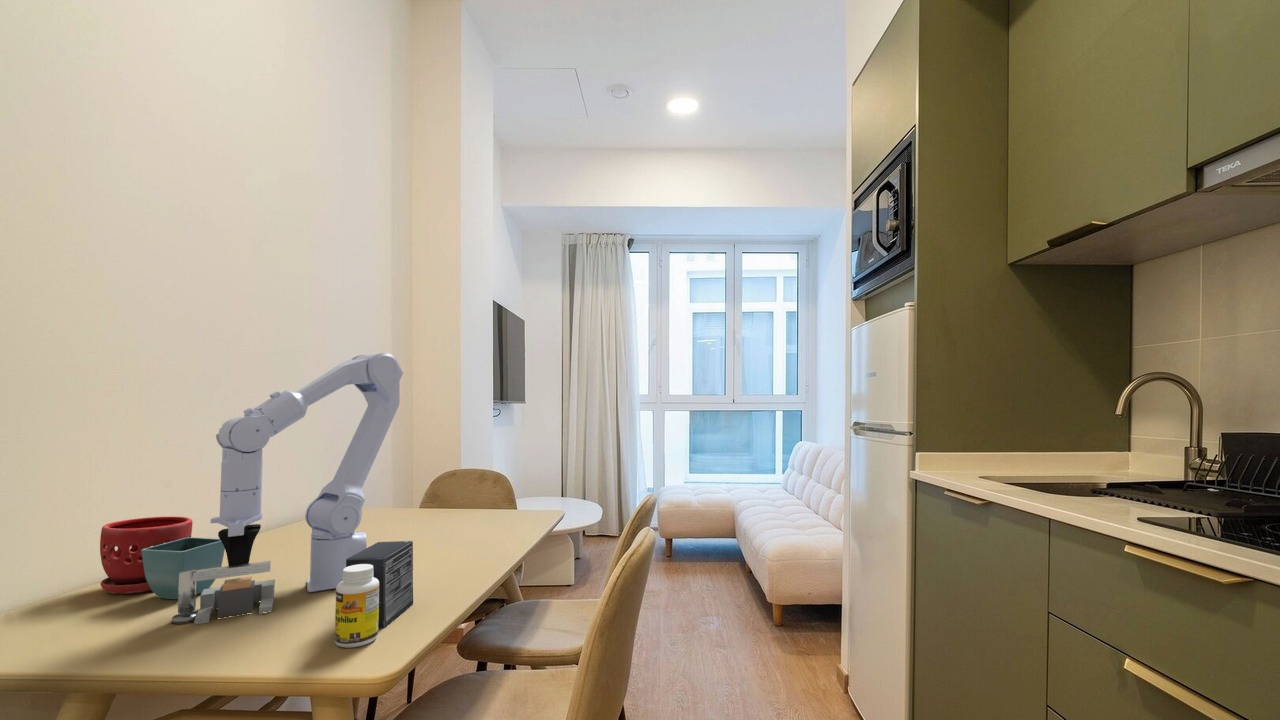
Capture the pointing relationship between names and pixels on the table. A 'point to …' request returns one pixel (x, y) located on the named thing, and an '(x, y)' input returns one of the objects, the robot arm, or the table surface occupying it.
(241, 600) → the orange and grey block
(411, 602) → the small box
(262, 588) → the socket
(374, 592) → the supplement bottle
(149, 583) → the flower pot
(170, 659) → the table surface
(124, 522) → the plant pot
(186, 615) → the door handle base
